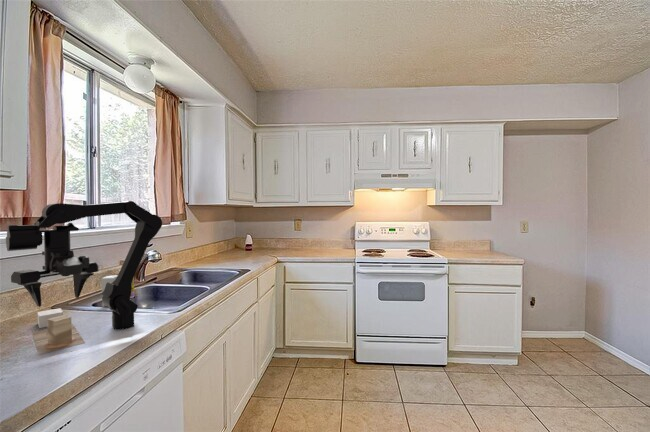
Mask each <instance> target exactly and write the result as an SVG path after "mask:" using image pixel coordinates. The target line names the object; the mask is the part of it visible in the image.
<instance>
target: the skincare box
mask: <svg viewBox="0 0 650 432" xmlns="http://www.w3.org/2000/svg"><path fill="white" fill-rule="evenodd" d="M117 276H118V274H117V275H116V274H115V275H106V276H104V277H102V278H101V279H100V281H101V282H100V283H101V293H102V292H103V291H104V290H105V287H106V284H107V282H109V283H111V284H112V282H113V281H114V280H115V279H116V278H117ZM102 297H103V295H101V298H102ZM101 302H102V303H101V305H102V308H104V307H107V306H106V305H105V304H104V303H103V301H102V300H101Z"/></svg>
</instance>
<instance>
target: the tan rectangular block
mask: <svg viewBox="0 0 650 432" xmlns="http://www.w3.org/2000/svg"><path fill="white" fill-rule="evenodd" d="M72 324H73V323H72V317H71V316H68V315H65V314H63V315H62V316H58V317H55V318H51V319H47V327H46V328H47V329H48V344H50V345H53V346H58V345H61V344H64V343H67V342H70V341H72Z"/></svg>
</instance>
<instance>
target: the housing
mask: <svg viewBox="0 0 650 432" xmlns="http://www.w3.org/2000/svg"><path fill="white" fill-rule="evenodd" d="M62 315H64V311H63V309H62V308H61V307H59V308H54V309H47V310H42V311H37V325H38V328H39V329H41V328H42V329H43V328H48V327H47V319H51V318H55V317H58V316H62Z"/></svg>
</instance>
